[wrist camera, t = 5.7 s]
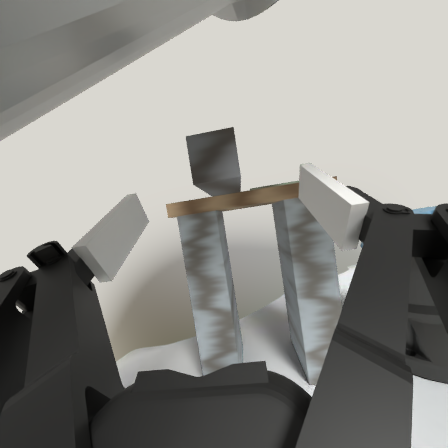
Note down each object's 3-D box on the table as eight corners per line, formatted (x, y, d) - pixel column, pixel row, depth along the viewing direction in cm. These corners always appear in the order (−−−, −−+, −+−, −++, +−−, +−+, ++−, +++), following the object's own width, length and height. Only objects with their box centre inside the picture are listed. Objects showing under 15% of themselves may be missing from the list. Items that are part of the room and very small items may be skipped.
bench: (324, 333, 38) (305, 186, 37) (363, 388, 26) (336, 174, 25) (210, 343, 40) (188, 205, 39) (198, 398, 28) (165, 202, 27)
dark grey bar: (240, 201, 45) (237, 184, 45) (240, 176, 15) (233, 127, 15) (224, 203, 45) (221, 187, 45) (193, 184, 16) (185, 136, 15)
